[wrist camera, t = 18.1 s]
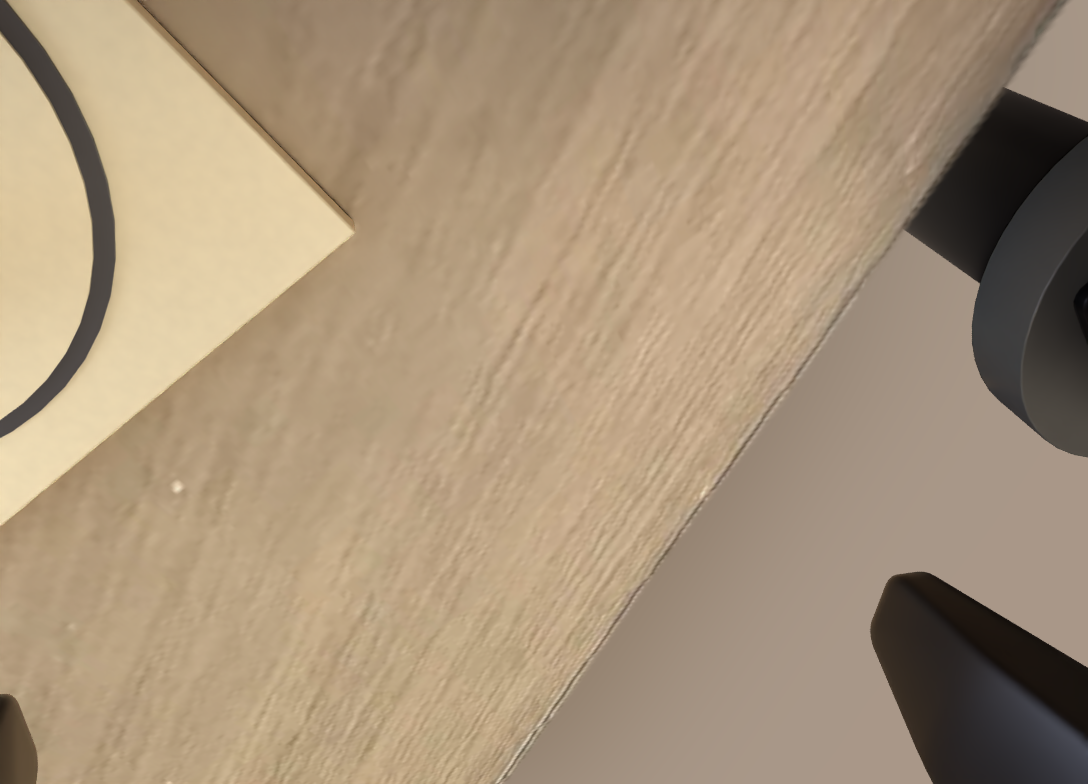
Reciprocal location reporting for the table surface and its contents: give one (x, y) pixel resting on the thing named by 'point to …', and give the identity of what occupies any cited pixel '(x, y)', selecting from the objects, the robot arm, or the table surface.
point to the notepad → (126, 227)
